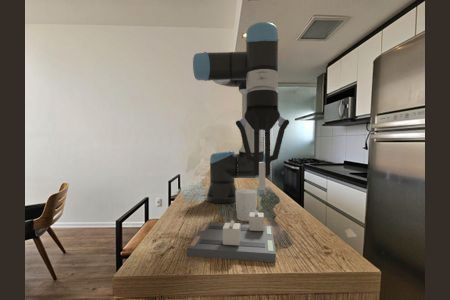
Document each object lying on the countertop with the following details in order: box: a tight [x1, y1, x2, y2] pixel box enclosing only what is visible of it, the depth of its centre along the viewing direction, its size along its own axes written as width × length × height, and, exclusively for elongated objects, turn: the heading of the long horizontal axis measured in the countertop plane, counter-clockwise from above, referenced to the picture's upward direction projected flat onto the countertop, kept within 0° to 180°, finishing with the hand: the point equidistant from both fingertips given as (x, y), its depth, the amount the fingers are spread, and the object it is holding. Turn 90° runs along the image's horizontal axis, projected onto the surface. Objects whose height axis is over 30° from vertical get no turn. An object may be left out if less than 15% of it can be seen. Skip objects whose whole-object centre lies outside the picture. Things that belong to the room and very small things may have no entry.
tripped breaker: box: [223, 220, 241, 245], centre depth 58 cm, size 4×4×5 cm
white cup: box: [235, 188, 258, 222], centre depth 83 cm, size 8×8×10 cm
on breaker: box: [248, 209, 265, 231], centre depth 67 cm, size 4×4×5 cm
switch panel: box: [186, 222, 277, 263], centre depth 63 cm, size 18×21×2 cm
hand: (262, 188), depth 56 cm, fingers closed
